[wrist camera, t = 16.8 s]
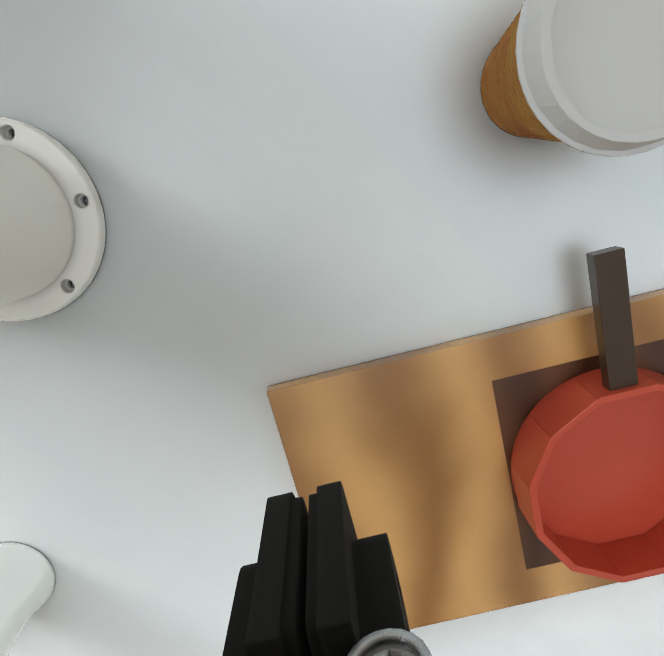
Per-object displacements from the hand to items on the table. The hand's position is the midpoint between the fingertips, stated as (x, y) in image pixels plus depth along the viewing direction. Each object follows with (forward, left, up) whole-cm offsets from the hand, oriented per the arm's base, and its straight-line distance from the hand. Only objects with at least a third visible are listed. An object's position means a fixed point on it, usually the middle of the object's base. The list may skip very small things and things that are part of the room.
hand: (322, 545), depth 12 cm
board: (+11, -16, -25) cm, 32 cm away
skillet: (+17, -12, -24) cm, 32 cm away
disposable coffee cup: (+16, +10, -25) cm, 32 cm away
